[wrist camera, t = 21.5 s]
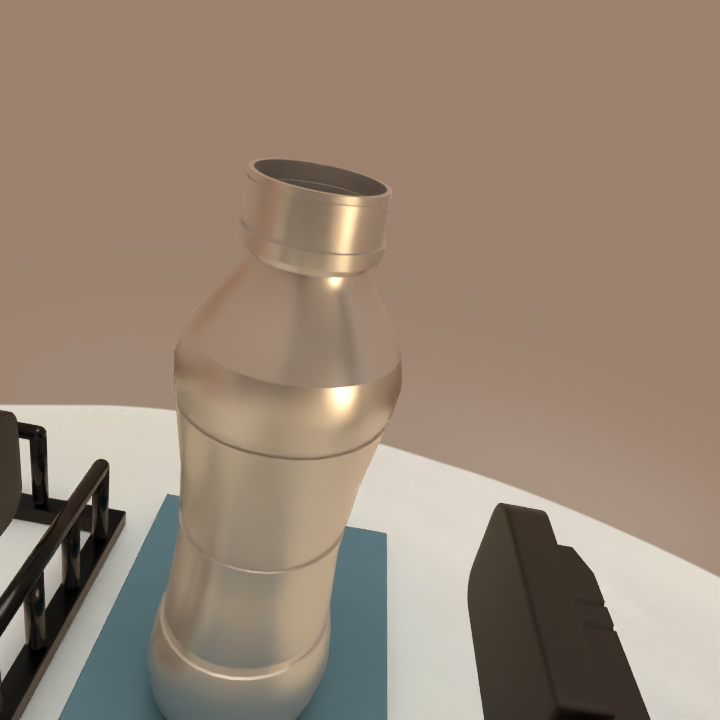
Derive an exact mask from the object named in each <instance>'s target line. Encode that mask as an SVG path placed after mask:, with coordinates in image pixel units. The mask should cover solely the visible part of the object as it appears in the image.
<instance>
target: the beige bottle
mask: <svg viewBox="0 0 720 720" xmlns="http://www.w3.org/2000/svg"><path fill="white" fill-rule="evenodd" d="M391 194H392V190H391V188H390V187H389V186H388V185H386V184H385V183H383V182H381V181H379V180H377V179H375V178H372V177H370V176H367V175H364V174H361V173H358V172H355V171H352V170H348V169H344V168H341V167H336V166H331V165H327V164H322V163H317V162H311V161H304V160H296V159H284V158H262V159H255V160H252V161H250V162H249V164H248V170H247V171H246V176H245V186H244V197H243V207H242V213H241V214H239V215H238V218H237V227H236V237H237V240H238V241H239V242H240V243H241V244H242V245H243V246H245V247H246V251H245V255H244V257H243V258H242V259H241V260H240V261H239V262H238V263H237V264H236V265H235V266H234V267H233V268H232V269H231V270H230V271H229V272H228V273H227V274H226V275H225V276H224V277H223V278H222V279H221V280H220V281H219V282H218V283H217V284H216V285H215V286H214V287H213V288H212V289H211V290H210V291H209V292H208V294H207V295H206V296H205V297H204V298H203V300H202V301H201V302H200V303H199V305H198V306H197V307H196V308H195V309H194V311H193V312H192V313H191V314H190V316H189V319H188V321H187V323H186V325H185V328H184V330H183V332H182V335H181V337H180V339H179V342H178V344H177V346H176V349H175V351H174V390H175V399H176V412H177V424H178V436H179V448H180V459H181V477H180V509H179V533H178V538H177V542H176V547H175V552H174V556H173V561H172V566H171V570H170V575H169V580H168V584H167V589H166V591H165V592H164V595H163V597H162V599H161V602H160V604H159V607H158V610H157V614H156V617H155V621H154V624H153V628H152V632H151V635H150V639H149V643H148V648H147V664H148V669H149V674H150V679H151V685H152V689H153V694H154V698H155V701H156V703H157V705H158V707H159V709H160V711H161V713H162V714H163V715H164V717H165V718H166V719H167V720H295V719H296V718H297V717H298V716H299V715H300V714H301V712H302V711H303V710H304V708H305V707H306V705H307V704H308V702H309V701H310V699H311V697H312V695H313V694H314V692H315V690H316V688H317V687H318V685H319V683H320V681H321V678H322V676H323V674H324V672H325V670H326V665H327V660H328V655H329V645H330V634H331V619H330V602H331V595H332V588H333V581H334V575H335V568H336V561H337V555H338V549H339V546H340V543H341V540H342V537H343V534H344V530H345V526H346V524H347V522H348V519H349V516H350V513H351V510H352V507H353V504H354V501H355V498H356V495H357V491H358V488H359V486H360V484H361V482H362V479H363V477H364V475H365V473H366V471H367V468H368V466H369V464H370V462H371V460H372V457H373V455H374V453H375V451H376V449H377V446H378V444H379V442H380V440H381V438H382V435H383V433H384V431H385V429H386V427H387V424H388V421H389V419H390V418H391V416H392V414H393V411H394V407H395V405H396V402H397V399H398V396H399V394H400V391H401V384H402V365H401V351H400V347H399V343H398V341H397V338H396V335H395V333H394V330H393V327H392V325H391V322H390V319H389V317H388V314H387V312H386V310H385V308H384V306H383V304H382V302H381V300H380V298H379V296H378V294H377V292H376V290H375V288H374V286H373V284H372V282H371V280H370V269H372V268H375V267H377V266H378V265H380V264H381V263H382V261H383V258H384V253H385V248H386V241H385V239H384V235H385V230H386V225H387V220H388V216H389V210H390V206H391V202H392V198H391Z"/></svg>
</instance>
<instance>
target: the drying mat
mask: <svg viewBox="0 0 720 720" xmlns="http://www.w3.org/2000/svg"><path fill="white" fill-rule="evenodd" d="M179 509H180V496H176V495H170V494H167V496H166V498H165V500H164V502H163V504H162V506H161V508H160V510H159V512H158V514H157V517H156V519H155V521H154V523H153V525H152V527H151V529H150V531H149V533H148V535H147V537H146V539H145V541H144V543H143V546H142V548H141V550H140V552H139V554H138V556H137V558H136V560H135V562H134V564H133V566H132V568H131V570H130V572H129V574H128V577H127V579H126V581H125V583H124V585H123V587H122V589H121V591H120V593H119V595H118V597H117V599H116V601H115V603H114V606H113V608H112V610H111V612H110V614H109V616H108V618H107V620H106V622H105V624H104V626H103V628H102V630H101V632H100V635H99V637H98V639H97V641H96V643H95V645H94V647H93V649H92V651H91V653H90V655H89V657H88V659H87V661H86V664H85V666H84V668H83V670H82V672H81V674H80V676H79V678H78V680H77V682H76V684H75V686H74V688H73V690H72V692H71V695H70V697H69V699H68V701H67V703H66V705H65V707H64V709H63V711H62V713H61V715H60V717H59V719H58V720H167V719H166V718H165V717H164V715H163V714H162V713H161V711H160V709H159V707H158V705H157V703H156V701H155V698H154V694H153V689H152V685H151V679H150V674H149V669H148V664H147V648H148V643H149V639H150V635H151V632H152V628H153V624H154V621H155V617H156V614H157V610H158V607H159V604H160V602H161V599H162V597H163V595H164V592H165V591H166V589H167V584H168V580H169V575H170V570H171V566H172V561H173V556H174V552H175V547H176V542H177V538H178V533H179ZM330 619H331V634H330V645H329V655H328V660H327V665H326V670H325V672H324V674H323V676H322V678H321V681H320V683H319V685H318V687H317V688H316V690H315V692H314V694H313V695H312V697H311V699H310V701H309V702H308V704H307V705H306V707H305V708H304V710H303V711H302V712H301V714H300V715H299V716H298V717H297V718H296V719H295V720H387V535H386V533H381V532H376V531H370V530H365V529H359V528H353V527H348V526H345V530H344V534H343V537H342V540H341V543H340V546H339V549H338V555H337V561H336V568H335V575H334V581H333V588H332V595H331V602H330Z"/></svg>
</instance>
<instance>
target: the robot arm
mask: <svg viewBox="0 0 720 720" xmlns="http://www.w3.org/2000/svg"><path fill="white" fill-rule="evenodd" d="M21 493H22V479H21V465H20V450H19V436H18V423H17V419H16V417H15V415H14V414H13V413H12V412H8V411H3V410H0V536H1V535H2V533H3V532H4V531H5V530H6V528H7V527H8V526H9V524H10V523H11V521H12V519H13V518H14V516H15V514H16V511H17V509H18V506H19V502H20V498H21ZM604 602H605V601H604V599H603V596H602V594H601V591H600V588H599V586H598V583H597V581H596V578H595V576H594V573H593V572H592V571H591V570H590V568H589V567H588V566H587V565H586V563H585V562H584V561H583V560H582V559H581V557H580V556H579V555H578V554H577V552H576V551H575V550H574V549H573V548H572V547H568V546H562V545H558V544H557V541H556V538H555V535H554V532H553V529H552V526H551V524H550V521H549V518H548V515H547V514H546V512H544V511H542V510H537V509H532V508H526V507H521V506H515V505H510V504H504V503H499V504H498V505H497V506H496V507H495V509H494V511H493V514H492V516H491V519H490V521H489V524H488V527H487V529H486V532H485V534H484V537H483V540H482V542H481V545H480V547H479V550H478V553H477V555H476V558H475V560H474V563H473V566H472V569H471V572H470V577H469V583H468V610H469V617H470V624H471V630H472V637H473V644H474V651H475V658H476V665H477V672H478V679H479V686H480V693H481V700H482V707H483V714H484V720H650V717H649V714H648V712H647V709H646V707H645V704H644V702H643V699H642V696H641V694H640V691H639V689H638V686H637V684H636V681H635V678H634V676H633V673H632V671H631V668H630V666H629V663H628V660H627V658H626V655H625V653H624V650H623V648H622V645H621V642H620V640H619V637H618V635H617V632H616V631H614V630H613V626H614V624H613V622H612V619H611V617H610V614H609V612H608V609H607V607H604Z"/></svg>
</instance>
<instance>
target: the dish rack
mask: <svg viewBox="0 0 720 720" xmlns="http://www.w3.org/2000/svg"><path fill="white" fill-rule="evenodd" d="M17 423H18V436H19V438H22V439H28V440H30V458H31V477H32V495H30V494H25V493H21V498H20V502H19V506H18V509H17V511H16V514H15V516H14V518H17V519H23V520H29V521H35V522H40V523H46V524H51V525H50V527H49V528H48V530H47V531H46V532H45V534H44V535H43V537H42V538H41V540H40V541H39V542H38V544H37V545H36V547H35V548H34V550H33V551H32V553H31V554H30V555H29V557H28V558H27V560H26V561H25V563H24V564H23V566H22V567H21V568H20V570H19V571H18V573H17V574H16V576H15V577H14V578H13V580H12V581H11V583H10V584H9V586H8V587H7V589H6V590H5V591H4V593H3V594H2V596H1V597H0V637H1V635H2V634H3V632H4V631H5V629H6V627H7V626H8V624H9V623H10V621H11V620H12V618H13V617H14V615H15V614H16V612H17V611H18V609H19V607H20V606H21V604H22V603H23V605H24V620H25V635H26V643H25V645H24V646H23V648H22V650H21V651H20V653H19V655H18V656H17V658H16V660H15V661H14V663H13V665H12V666H11V668H10V670H9V671H8V673H7V675H6V676H5V678H4V680H3V681H2V683H1V673H0V720H19V718H20V716H21V714H22V713H23V711H24V709H25V707H26V705H27V703H28V701H29V700H30V698H31V696H32V694H33V692H34V690H35V689H36V687H37V685H38V683H39V681H40V679H41V677H42V676H43V674H44V672H45V670H46V668H47V666H48V665H49V663H50V661H51V659H52V657H53V655H54V653H55V652H56V650H57V648H58V646H59V644H60V642H61V641H62V639H63V637H64V635H65V633H66V631H67V629H68V628H69V626H70V624H71V622H72V620H73V618H74V617H75V615H76V613H77V611H78V609H79V607H80V605H81V604H82V602H83V600H84V598H85V596H86V594H87V593H88V591H89V589H90V587H91V585H92V583H93V581H94V580H95V578H96V576H97V574H98V572H99V570H100V569H101V567H102V565H103V563H104V561H105V559H106V558H107V556H108V554H109V552H110V550H111V548H112V546H113V545H114V543H115V541H116V539H117V537H118V535H119V534H120V532H121V530H122V528H123V526H124V524H125V517H126V512H125V511H120V510H115V509H109V463H108V462H107V461H106V460H104V459H98V460H96V461H95V462H94V463H93V465H92V466H91V468H90V469H89V470H88V472H87V473H86V475H85V476H84V478H83V479H82V481H81V482H80V483H79V485H78V486H77V488H76V489H75V491H74V492H73V494H72V495H71V496H70V498H69V499H68V501H64V500H58V499H53V498H49V492H48V464H47V437H46V430H45V428H43V427H42V426H38V425H32V424H27V423H21V422H17ZM91 496H92V505H86V504H87V503H88V501H89V499H90V498H91ZM80 530H86V531H92V533H91V535H90V536H89V538H88V540H87V541H86V543H85V545H84V546H83V548H82V550H81V551H80ZM60 544H61V548H62V583H61V585H60V586H59V588H58V590H57V591H56V593H55V595H54V596H53V598H52V600H51V601H50V603H49V605H48V606H47V608H46V610H45V592H44V569H45V567H46V566H47V564H48V563H49V561H50V560H51V558H52V557H53V555H54V553H55V552H56V550H57V549H58V547H59V546H60Z"/></svg>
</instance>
